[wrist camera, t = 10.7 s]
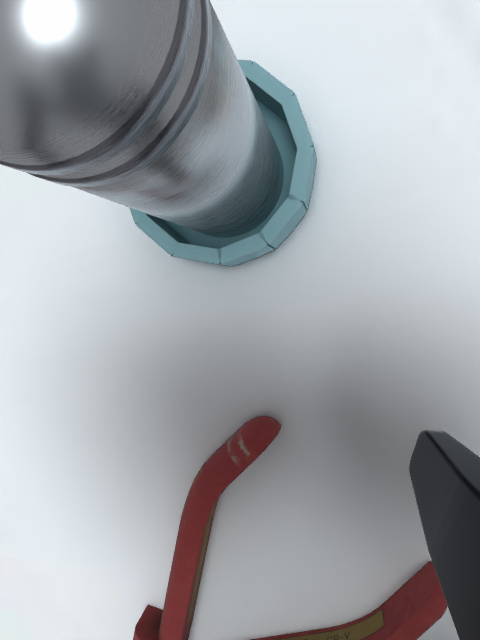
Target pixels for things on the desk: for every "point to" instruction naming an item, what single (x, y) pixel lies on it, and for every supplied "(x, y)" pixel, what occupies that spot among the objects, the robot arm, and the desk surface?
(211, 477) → the pliers
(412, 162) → the desk surface
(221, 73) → the piston
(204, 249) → the ring collar
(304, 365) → the desk surface
